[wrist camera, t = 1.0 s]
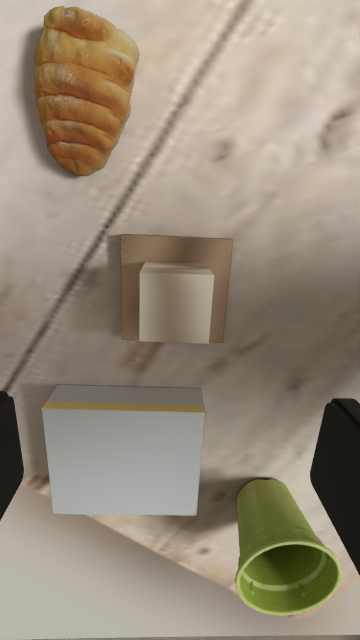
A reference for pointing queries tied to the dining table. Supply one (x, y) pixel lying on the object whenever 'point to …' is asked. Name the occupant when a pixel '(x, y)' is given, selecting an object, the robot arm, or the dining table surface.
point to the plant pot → (280, 553)
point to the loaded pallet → (177, 253)
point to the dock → (124, 449)
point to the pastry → (83, 86)
